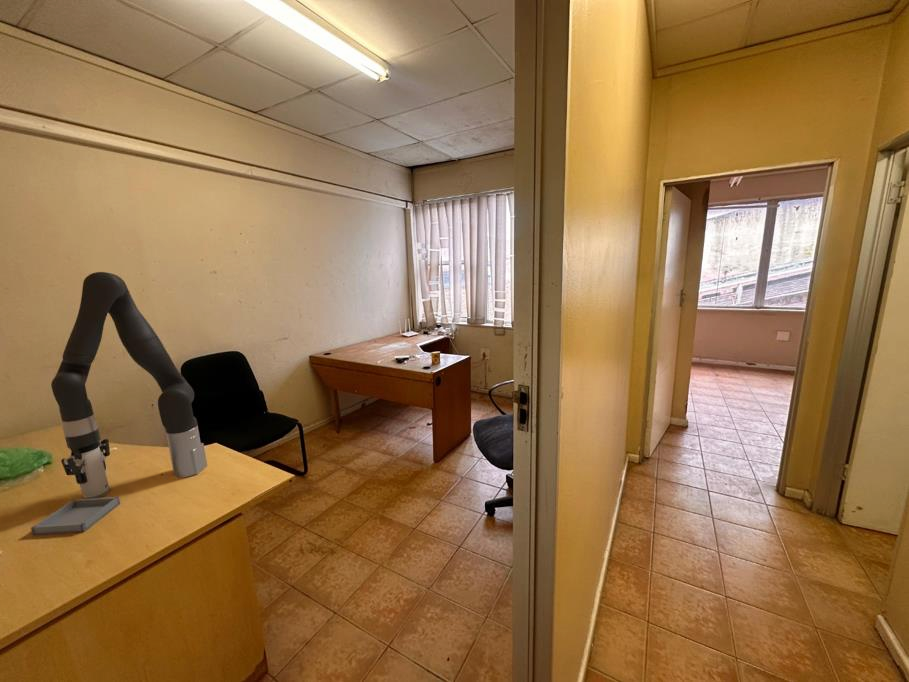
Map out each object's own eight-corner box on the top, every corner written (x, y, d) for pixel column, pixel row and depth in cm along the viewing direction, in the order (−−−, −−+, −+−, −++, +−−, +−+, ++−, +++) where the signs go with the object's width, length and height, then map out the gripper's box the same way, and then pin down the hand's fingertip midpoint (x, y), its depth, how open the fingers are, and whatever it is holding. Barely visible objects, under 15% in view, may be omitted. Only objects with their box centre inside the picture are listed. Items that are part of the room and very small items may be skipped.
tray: (120, 503, 113) (118, 496, 113) (84, 532, 101) (82, 524, 101) (75, 506, 112) (73, 499, 112) (33, 535, 100) (30, 527, 100)
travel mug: (115, 490, 120) (102, 436, 116) (90, 502, 114) (76, 446, 110) (104, 487, 122) (91, 433, 118) (79, 498, 116) (64, 443, 112)
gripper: (72, 440, 106) (84, 489, 110) (113, 420, 120) (122, 464, 124) (45, 441, 106) (58, 491, 109) (89, 421, 120) (99, 465, 123)
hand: (92, 476), depth 116 cm, fingers closed on travel mug, 6 cm apart
